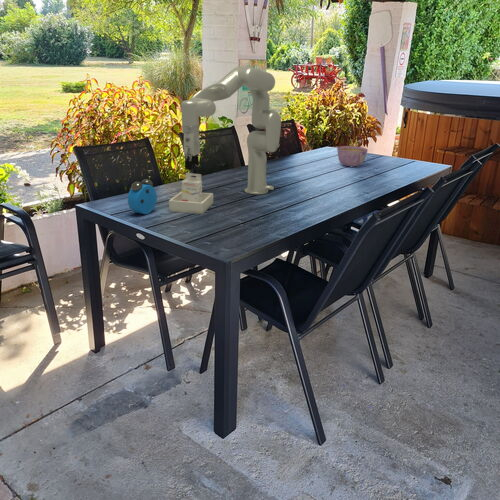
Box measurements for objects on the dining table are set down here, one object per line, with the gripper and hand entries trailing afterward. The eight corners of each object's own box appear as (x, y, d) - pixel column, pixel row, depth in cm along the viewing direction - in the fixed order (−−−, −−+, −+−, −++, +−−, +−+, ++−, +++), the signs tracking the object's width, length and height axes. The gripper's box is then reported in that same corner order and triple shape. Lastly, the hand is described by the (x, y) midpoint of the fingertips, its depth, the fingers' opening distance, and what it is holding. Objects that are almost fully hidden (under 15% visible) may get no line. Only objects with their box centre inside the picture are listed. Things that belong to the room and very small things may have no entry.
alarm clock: (147, 208, 231) (146, 176, 226) (158, 210, 228) (156, 178, 223) (128, 215, 221) (126, 182, 215) (139, 218, 218) (137, 184, 212)
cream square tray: (213, 203, 242) (213, 193, 240) (202, 214, 225) (202, 203, 224) (181, 200, 245) (181, 190, 243) (169, 211, 228) (168, 200, 226)
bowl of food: (368, 169, 323) (370, 151, 319) (337, 168, 323) (339, 151, 319) (362, 163, 342) (364, 146, 338) (333, 162, 342) (335, 145, 338)
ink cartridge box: (181, 205, 234) (180, 174, 228) (185, 202, 238) (185, 172, 233) (198, 207, 231) (198, 176, 226) (202, 204, 236) (202, 174, 230)
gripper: (192, 132, 213) (194, 172, 220) (204, 126, 229) (205, 163, 235) (176, 132, 215) (178, 171, 221) (188, 126, 230) (190, 162, 237)
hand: (192, 167), depth 228 cm, fingers open, 9 cm apart
